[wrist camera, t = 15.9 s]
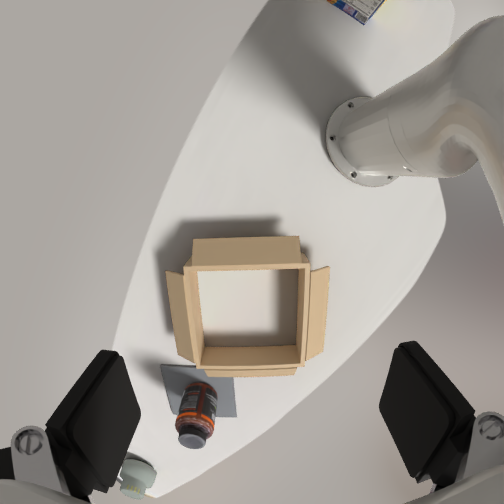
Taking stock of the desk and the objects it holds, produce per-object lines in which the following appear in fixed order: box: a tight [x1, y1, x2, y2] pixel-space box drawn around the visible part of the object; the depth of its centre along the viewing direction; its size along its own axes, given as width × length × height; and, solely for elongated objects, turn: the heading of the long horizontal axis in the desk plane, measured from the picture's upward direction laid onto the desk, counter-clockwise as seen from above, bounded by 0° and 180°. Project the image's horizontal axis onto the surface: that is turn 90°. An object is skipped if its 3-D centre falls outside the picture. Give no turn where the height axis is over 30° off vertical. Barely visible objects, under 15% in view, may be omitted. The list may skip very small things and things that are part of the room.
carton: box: [165, 236, 330, 377], centre depth 38 cm, size 21×21×5 cm
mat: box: [160, 365, 237, 417], centre depth 45 cm, size 12×12×1 cm
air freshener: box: [120, 459, 157, 499], centre depth 48 cm, size 11×8×10 cm
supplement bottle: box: [175, 383, 218, 449], centre depth 39 cm, size 6×6×11 cm
